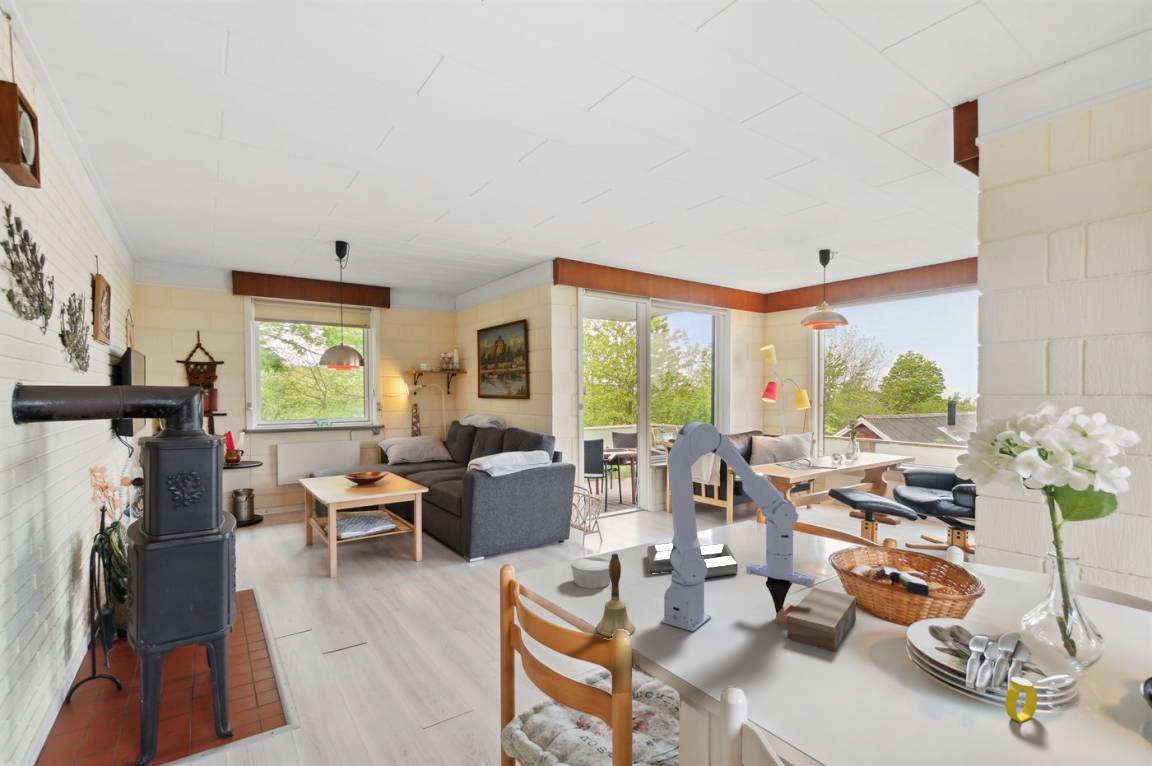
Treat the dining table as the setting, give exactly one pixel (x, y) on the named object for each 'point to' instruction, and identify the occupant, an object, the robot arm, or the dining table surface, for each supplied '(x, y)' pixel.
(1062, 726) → the dining table surface
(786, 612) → the shallow pink tray
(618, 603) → the hand bell
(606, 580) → the ramekin
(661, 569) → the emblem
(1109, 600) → the dining table surface
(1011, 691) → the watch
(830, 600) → the wooden block
